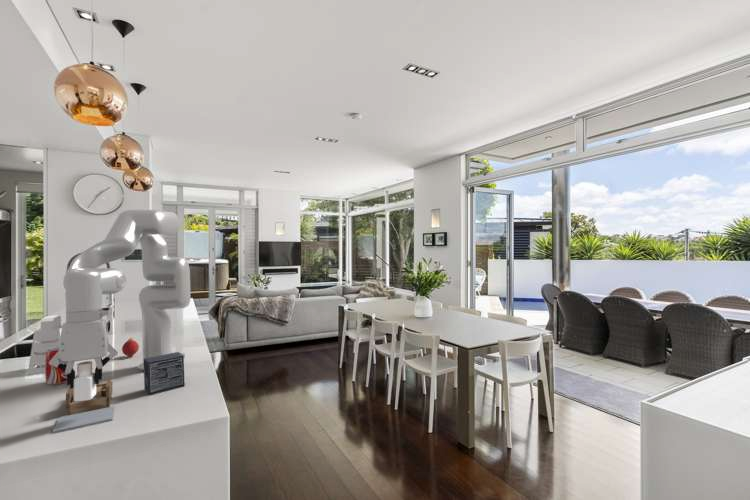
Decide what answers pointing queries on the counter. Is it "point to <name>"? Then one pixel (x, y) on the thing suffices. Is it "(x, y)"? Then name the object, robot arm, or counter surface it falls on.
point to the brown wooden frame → (89, 404)
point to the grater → (44, 342)
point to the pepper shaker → (84, 382)
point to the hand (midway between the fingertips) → (85, 384)
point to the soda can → (54, 369)
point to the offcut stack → (98, 393)
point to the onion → (130, 347)
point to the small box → (163, 373)
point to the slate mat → (84, 419)
